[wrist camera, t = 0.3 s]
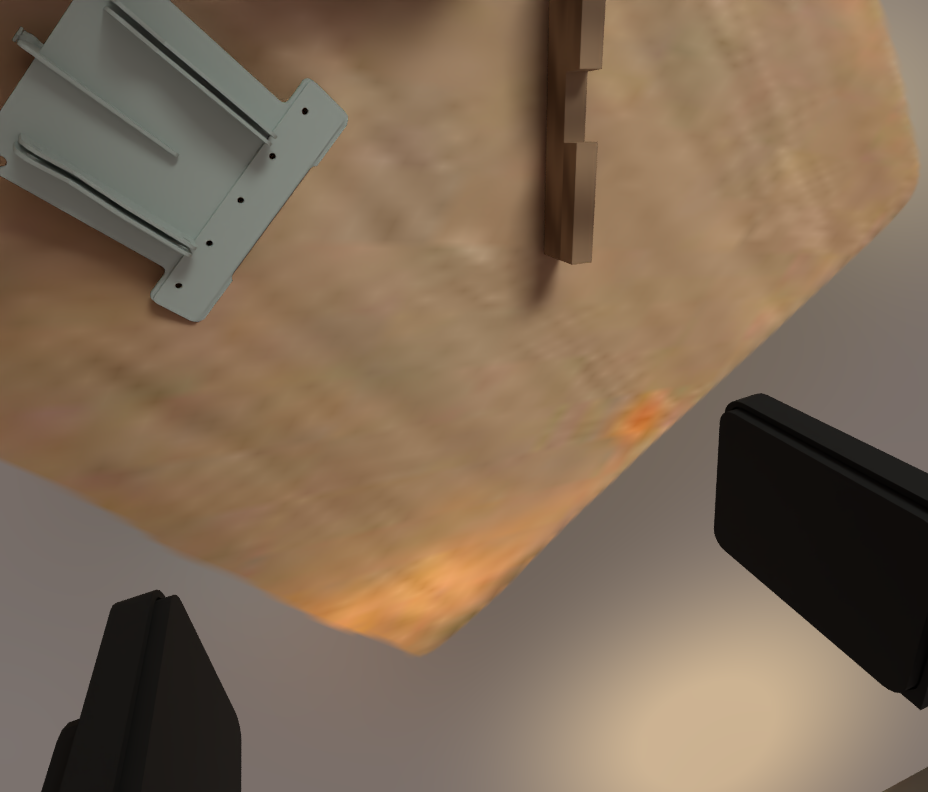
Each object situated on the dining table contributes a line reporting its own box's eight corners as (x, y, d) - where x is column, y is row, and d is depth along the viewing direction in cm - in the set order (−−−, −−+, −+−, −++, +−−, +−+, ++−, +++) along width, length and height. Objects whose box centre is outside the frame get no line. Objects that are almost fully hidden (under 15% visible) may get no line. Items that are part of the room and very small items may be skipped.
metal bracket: (-84, 193, 24) (120, -119, 23) (-68, 161, 28) (106, -107, 27) (221, 345, 35) (376, 136, 33) (201, 305, 39) (338, 118, 37)
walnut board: (550, -67, 33) (586, -91, 30) (572, -66, 34) (610, -89, 30) (544, 253, 41) (571, 264, 37) (562, 252, 41) (591, 262, 38)
